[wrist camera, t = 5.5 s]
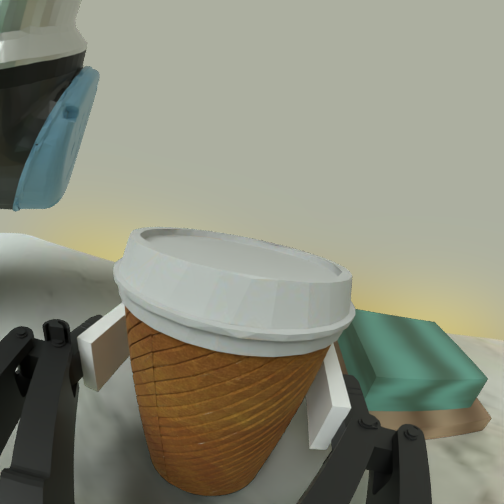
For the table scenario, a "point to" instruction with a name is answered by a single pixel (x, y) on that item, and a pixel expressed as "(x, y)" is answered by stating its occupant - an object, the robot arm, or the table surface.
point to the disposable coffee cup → (224, 346)
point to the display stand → (412, 374)
